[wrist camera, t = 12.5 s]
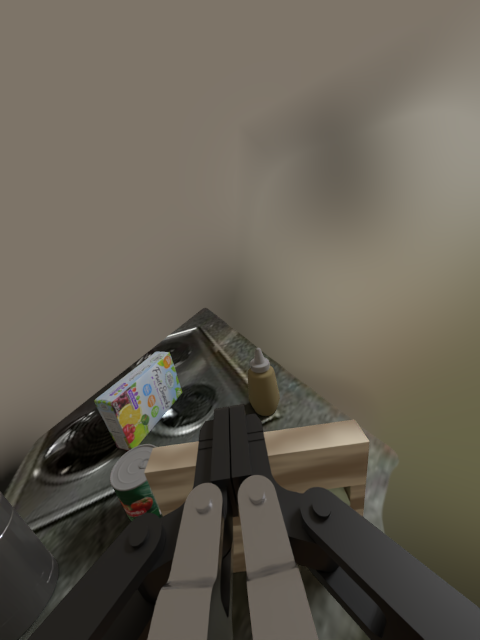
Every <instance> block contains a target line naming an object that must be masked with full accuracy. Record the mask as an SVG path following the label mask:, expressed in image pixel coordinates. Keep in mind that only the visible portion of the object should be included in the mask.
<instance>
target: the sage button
mask: <svg viewBox="0 0 480 640" xmlns="http://www.w3.org/2000/svg"><path fill="white" fill-rule="evenodd" d="M327 490H329V491H330V492H332V493H333V494H334V495H336V496H337V497H338V498H340V499H341V500H342V501H343V502H345V503H346V504H347V505H348V506H350V501H349V499H348V496H347V494H346V492H345V490H344V487H340V488H333V489H327Z"/></svg>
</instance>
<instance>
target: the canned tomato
mask: <svg viewBox="0 0 480 640" xmlns="http://www.w3.org/2000/svg"><path fill="white" fill-rule="evenodd" d="M153 448H156V446H154V445H151V444H144V445H139V446H137V447H134V448H132V449H131V450H129V451H128V452H126V453H125V454H124V455H123V456H122V457H121V458H120V459H119V460H118V461H117V462H116V464H115V465H114V467H113V469H112V471H111V474H110V483H111V485H112V487H113V488H114V490H115V492H116V494H117V496H118V498H119V500H120V502H121V504H122V506H123V508H124V510H125V512H126V514H127V516H128V517H129V520H130V521H131V522H132V521H133V520H134V519H135V518H136V517H138V516H140V515H142V514H145V513H153V514H156V515H157V516H158V517H159V518H161V517H163V515H162V513H161V511H160V508H159V506H158V504H157V501H156V499H155V497H154V495H153V492H152V490H151V488H150V485H149V483H148V481H147V479H146V476H145V474H144V472H145V469H146V466H147V463H148V461H149V458H150V455H151V452H152V450H153Z"/></svg>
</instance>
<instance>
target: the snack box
mask: <svg viewBox="0 0 480 640" xmlns="http://www.w3.org/2000/svg"><path fill="white" fill-rule="evenodd" d="M181 394H182V390H181V387H180V384H179V381H178V377H177V374H176V371H175V368H174V365H173V362H172V359H171V355H170V352H155V353H154V354H153V355H151V356H150V357H149V358H148V359H146V360H145V361H144V362H143V363H141V364H140V365H139V366H137V367H136V368H135V369H134V370H132V371H131V372H130V373H128V374H127V375H126V376H125V377H123V378H122V379H121V380H120V381H118V382H117V383H116V384H114V385H113V386H112V387H111V388H109V389H108V390H107V391H106V392H104V393H103V394H102V395H100V396H99V397H98V398H97V399H95V400H94V402H95V404H96V406H97V408H98V410H99V412H100V414H101V416H102V418H103V420H104V422H105V424H106V426H107V428H108V430H109V432H110V434H111V436H112V438H113V440H114V442H115V444H116V446H117V447H118V448H120V449H124V450H128V451H129V450H131V449H132V448H134V447H137V446H138V445H139V444H140V443H141V441H142V440H143V439H144V438H145V437H146V435H147V434H148V433H149V432H150V431H151V429H152V428H153V427H154V426H155V425H156V423H157V422H158V421H159V420H160V419H161V417H162V416H163V415H164V414H165V413H166V412H167V410H168V409H169V408H170V407H171V406H172V404H173V403H174V402H175V401H176V400H177V398H178V397H179V396H180V395H181Z"/></svg>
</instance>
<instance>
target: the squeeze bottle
mask: <svg viewBox="0 0 480 640" xmlns="http://www.w3.org/2000/svg"><path fill="white" fill-rule="evenodd" d="M250 366H251V368H250V369H249V370H248V389H249V401H250V403H251V405H252V407H253V408H254V410H255V411H256V413H257V414H259V415H262V416H269V415H271V414H273V413H274V412H275V411H276V409H277V406H278V402H279V399H280V396H279V391H278V386H277V382H276V378H275V373H274V369H273V368H272V367H271V366H269V360H268V359H266V358H264V357H263V354H262V352H261V349H260V348H256V349H255V358H254V359H253V360H252V361H251V362H250Z"/></svg>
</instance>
